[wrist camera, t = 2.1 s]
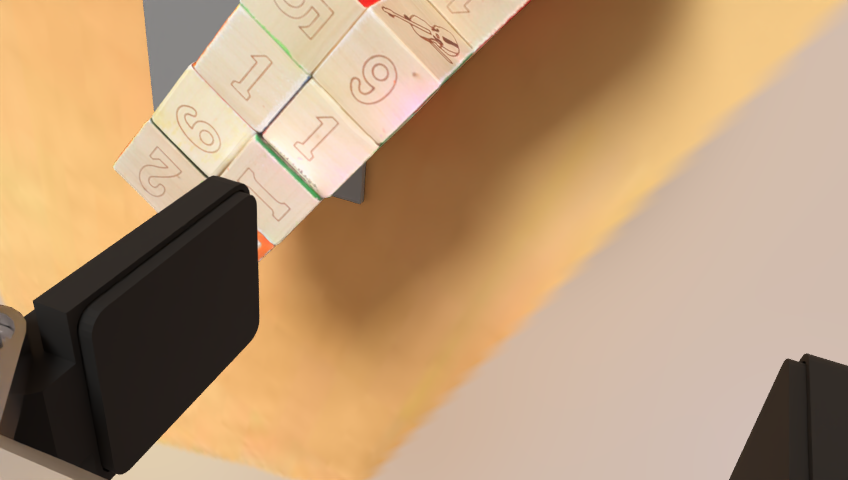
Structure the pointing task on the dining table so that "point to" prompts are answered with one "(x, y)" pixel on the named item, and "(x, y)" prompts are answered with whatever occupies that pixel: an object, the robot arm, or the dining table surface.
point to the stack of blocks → (302, 98)
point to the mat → (199, 53)
